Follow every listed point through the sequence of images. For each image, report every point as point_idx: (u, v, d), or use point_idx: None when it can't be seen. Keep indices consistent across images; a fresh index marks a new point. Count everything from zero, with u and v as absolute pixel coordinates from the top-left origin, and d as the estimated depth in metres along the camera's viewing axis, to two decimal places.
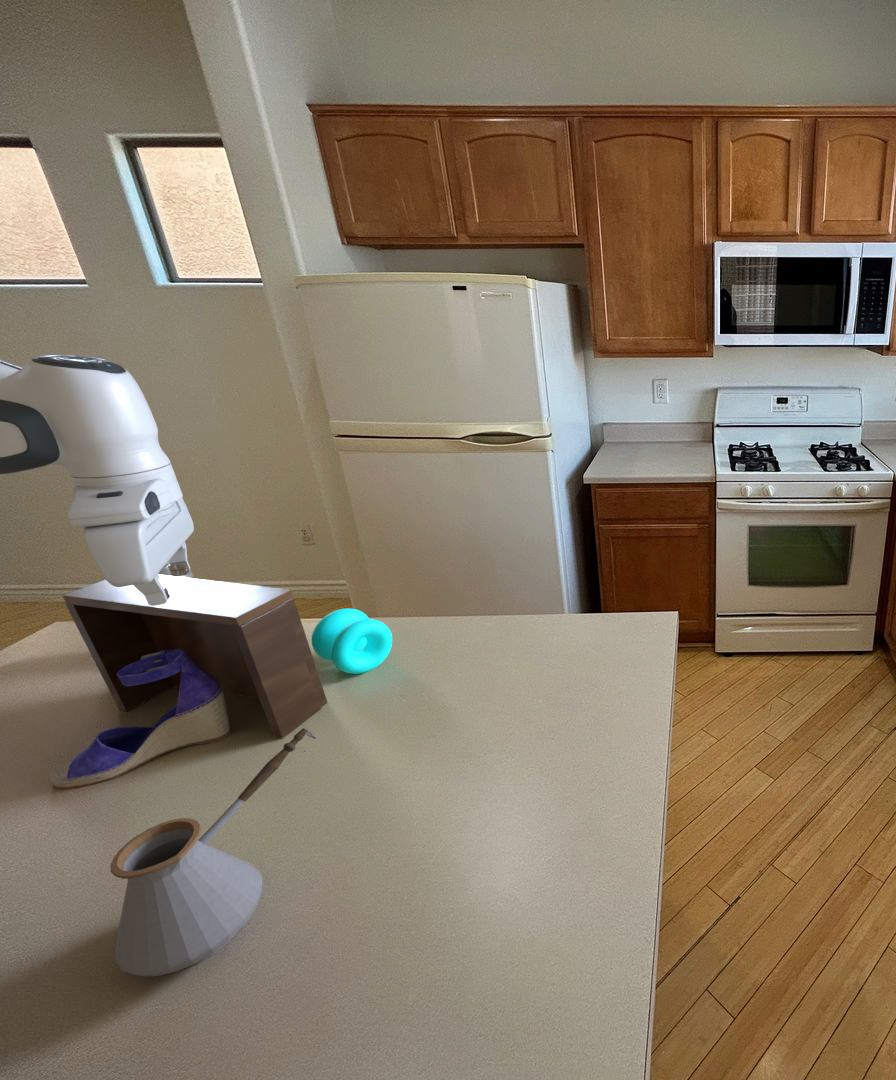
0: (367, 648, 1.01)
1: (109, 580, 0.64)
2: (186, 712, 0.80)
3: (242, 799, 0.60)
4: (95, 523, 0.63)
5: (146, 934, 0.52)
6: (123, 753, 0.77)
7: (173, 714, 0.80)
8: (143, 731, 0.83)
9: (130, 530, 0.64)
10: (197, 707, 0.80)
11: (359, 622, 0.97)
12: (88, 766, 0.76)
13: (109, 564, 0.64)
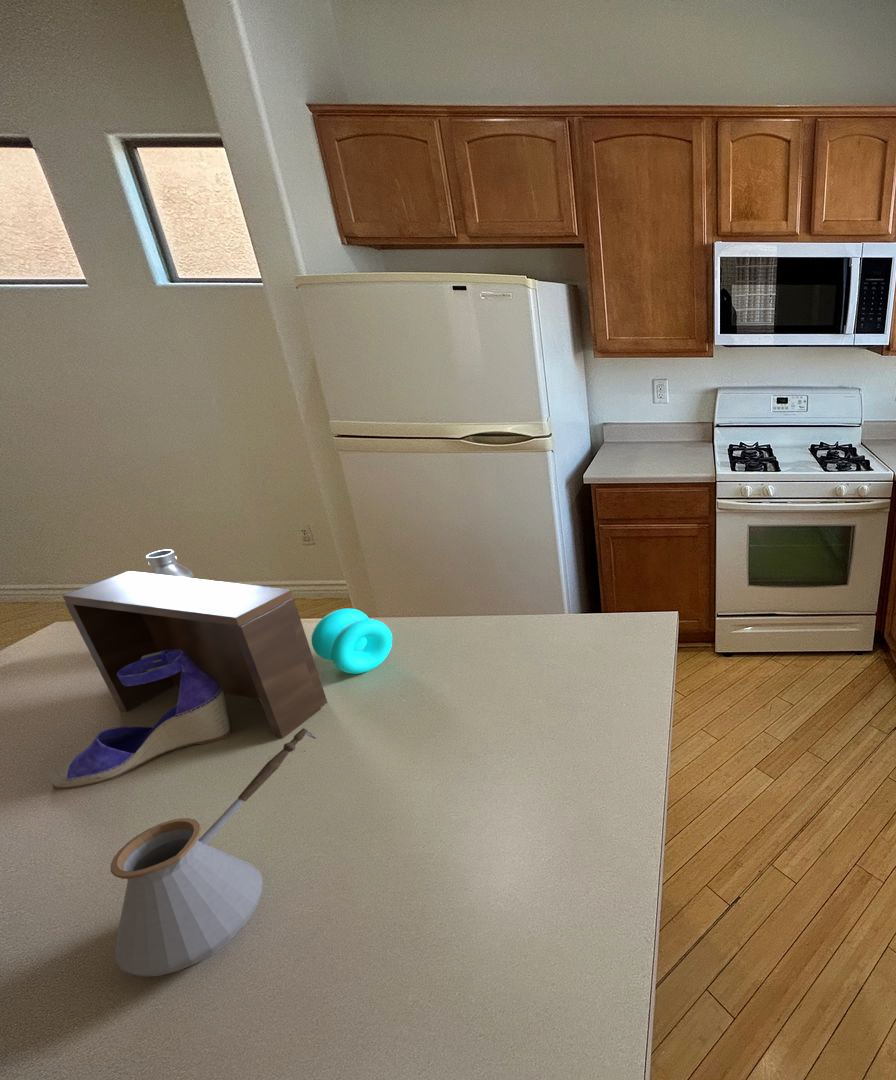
0: (367, 648, 1.01)
1: None
2: (186, 712, 0.80)
3: (242, 799, 0.60)
4: None
5: (146, 934, 0.52)
6: (123, 753, 0.77)
7: (173, 714, 0.80)
8: (143, 731, 0.83)
9: None
10: (197, 707, 0.80)
11: (359, 622, 0.97)
12: (88, 766, 0.76)
13: None
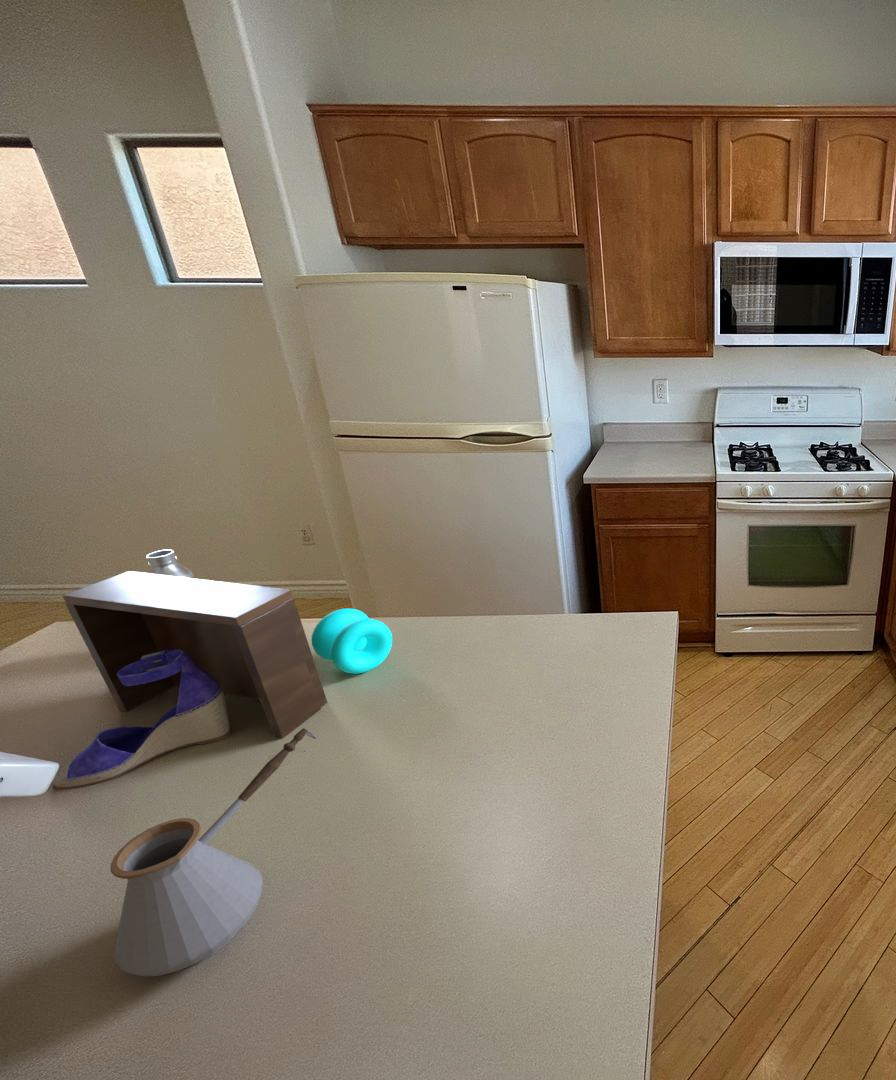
0: (367, 648, 1.01)
1: None
2: (186, 712, 0.80)
3: (242, 799, 0.60)
4: None
5: (146, 934, 0.52)
6: (123, 753, 0.77)
7: (173, 714, 0.80)
8: (143, 731, 0.83)
9: None
10: (197, 707, 0.80)
11: (359, 622, 0.97)
12: (88, 766, 0.76)
13: None
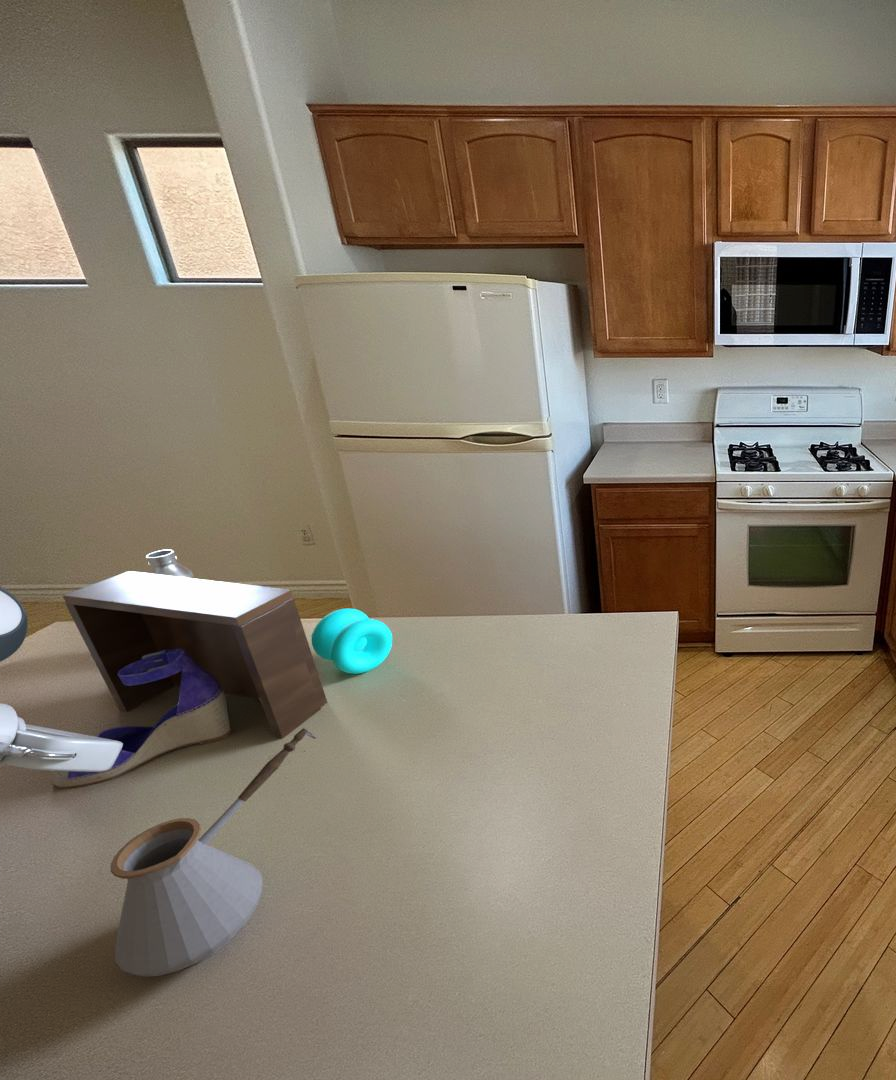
0: (367, 648, 1.01)
1: None
2: (187, 712, 0.80)
3: (242, 799, 0.60)
4: None
5: (146, 934, 0.52)
6: (124, 753, 0.77)
7: (174, 714, 0.80)
8: (144, 731, 0.83)
9: None
10: (198, 707, 0.80)
11: (359, 622, 0.97)
12: None
13: None
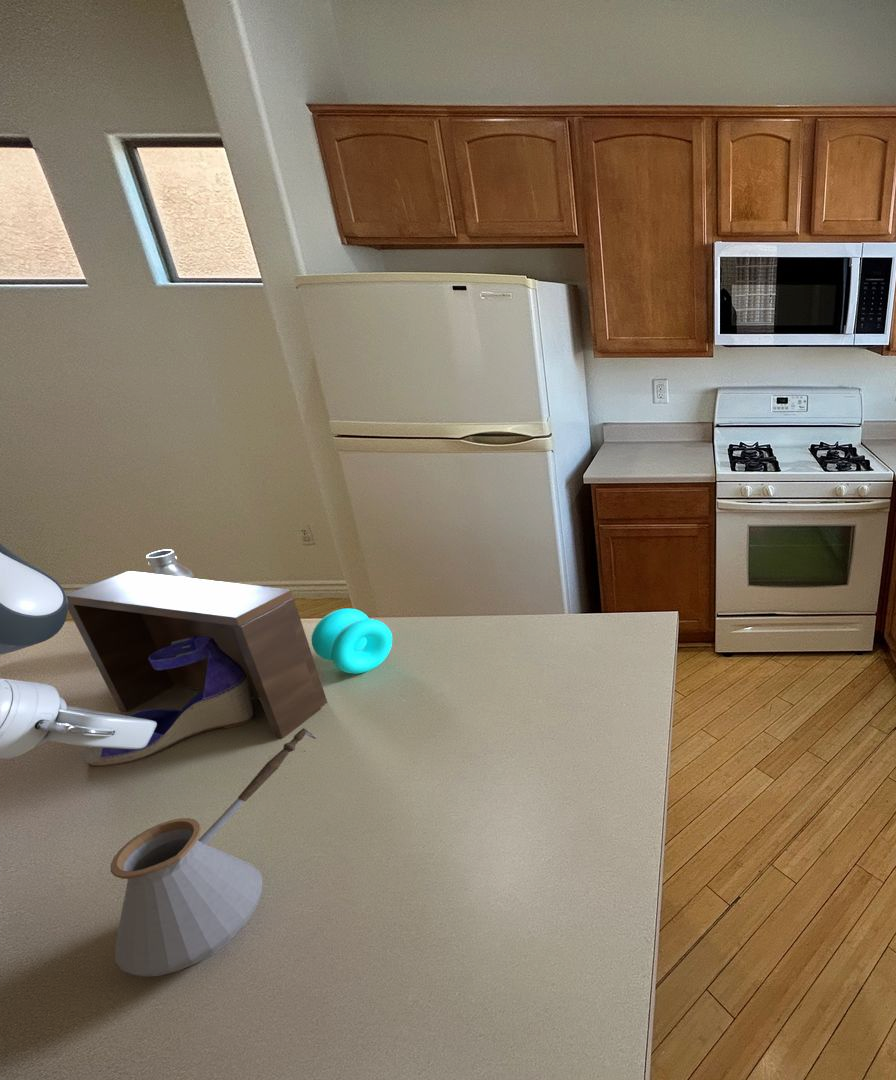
0: (367, 648, 1.01)
1: None
2: (213, 696, 0.83)
3: (242, 799, 0.60)
4: None
5: (146, 934, 0.52)
6: (153, 734, 0.81)
7: (200, 698, 0.84)
8: (172, 714, 0.86)
9: None
10: (223, 692, 0.83)
11: (359, 622, 0.97)
12: None
13: None
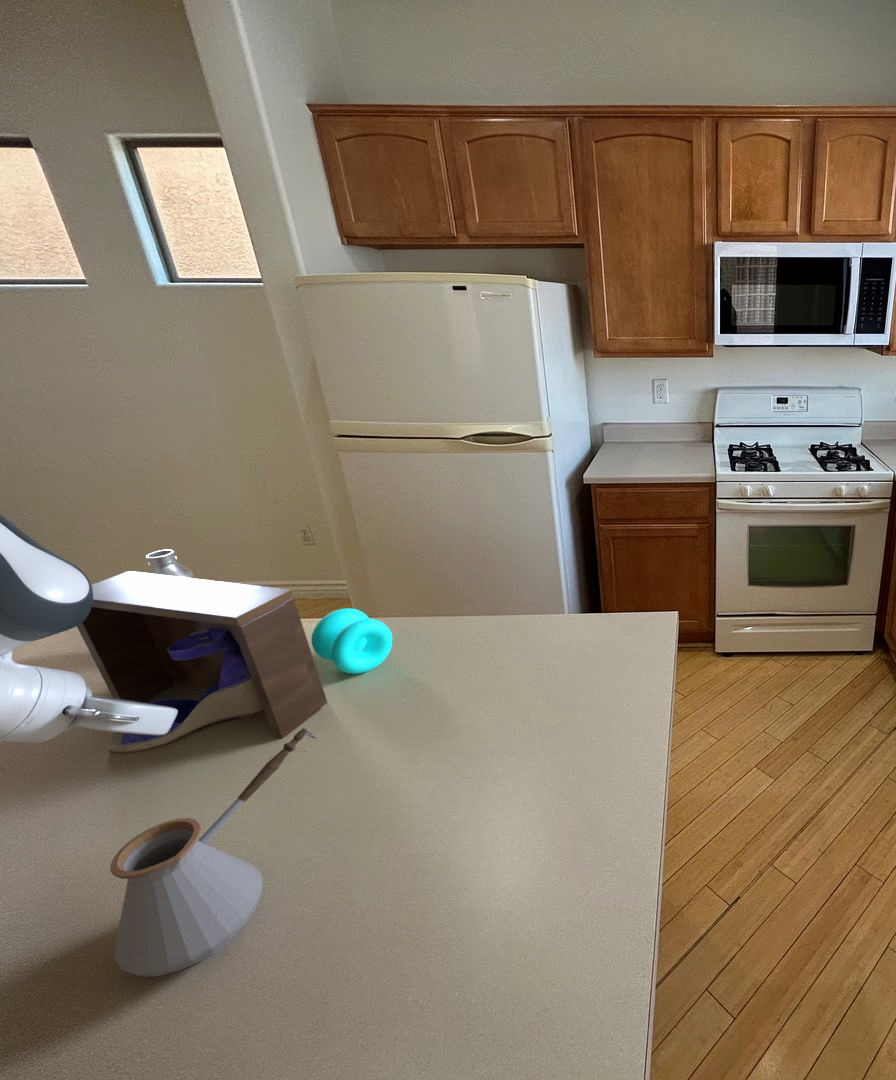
0: (367, 648, 1.01)
1: None
2: (228, 687, 0.85)
3: (242, 799, 0.60)
4: None
5: (146, 934, 0.52)
6: None
7: (216, 688, 0.86)
8: (190, 703, 0.89)
9: None
10: (238, 683, 0.85)
11: (359, 622, 0.97)
12: None
13: None
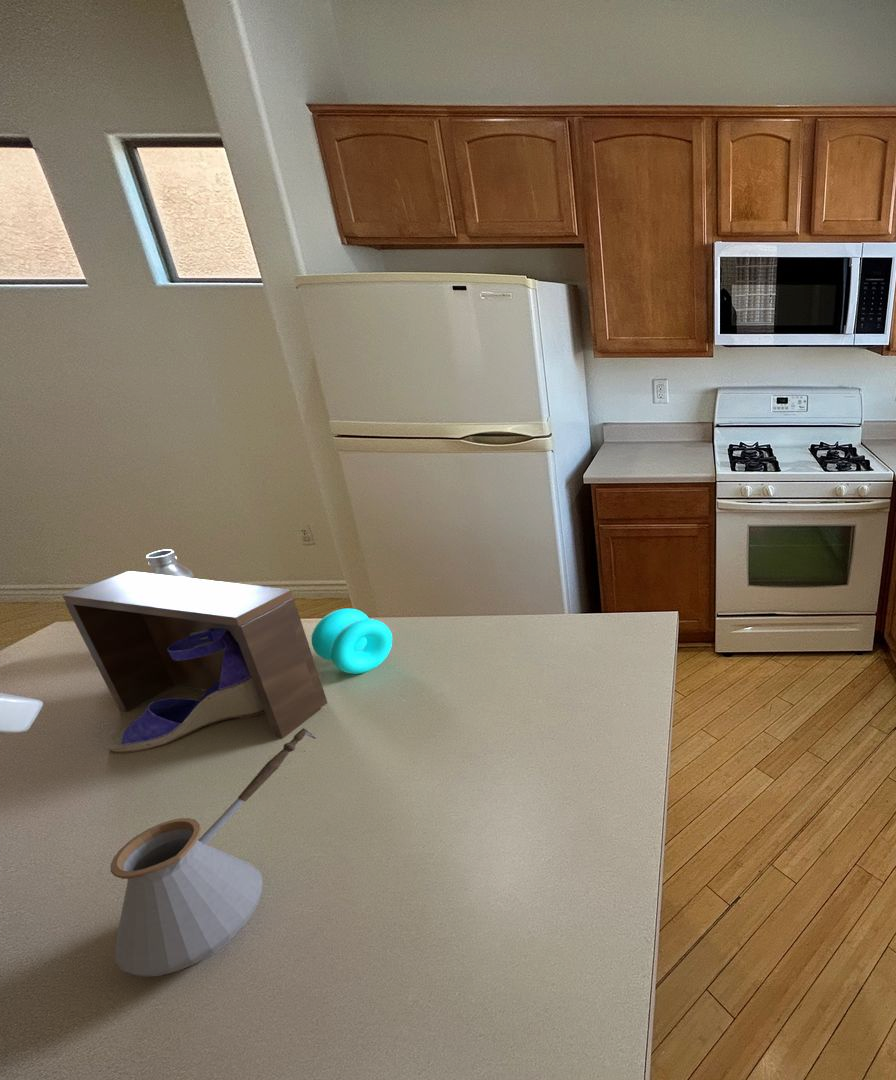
0: (367, 648, 1.01)
1: None
2: (228, 687, 0.85)
3: (242, 799, 0.60)
4: None
5: (146, 934, 0.52)
6: (171, 723, 0.83)
7: (216, 688, 0.86)
8: (190, 703, 0.89)
9: None
10: (238, 683, 0.85)
11: (359, 622, 0.97)
12: (140, 733, 0.81)
13: None
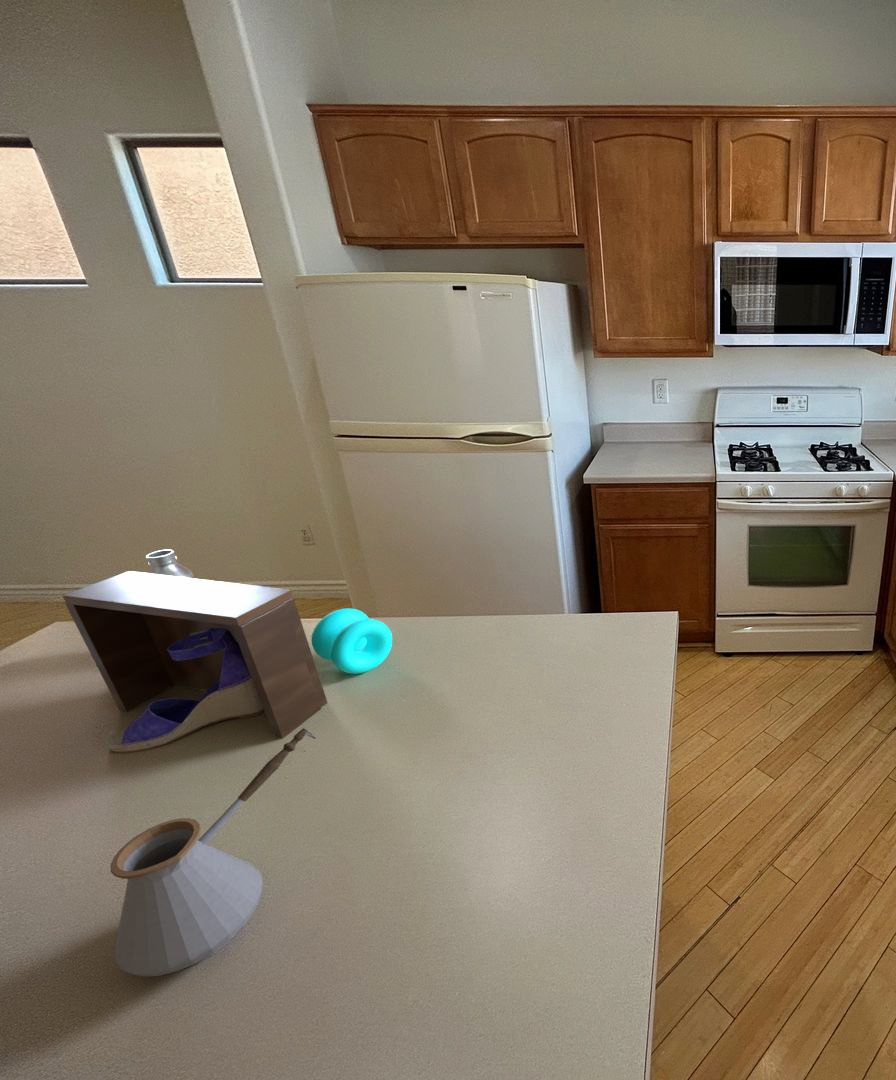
0: (367, 648, 1.01)
1: None
2: (228, 687, 0.85)
3: (242, 799, 0.60)
4: None
5: (146, 934, 0.52)
6: (171, 723, 0.83)
7: (216, 688, 0.86)
8: (190, 703, 0.89)
9: None
10: (238, 683, 0.85)
11: (359, 622, 0.97)
12: (140, 733, 0.81)
13: None
